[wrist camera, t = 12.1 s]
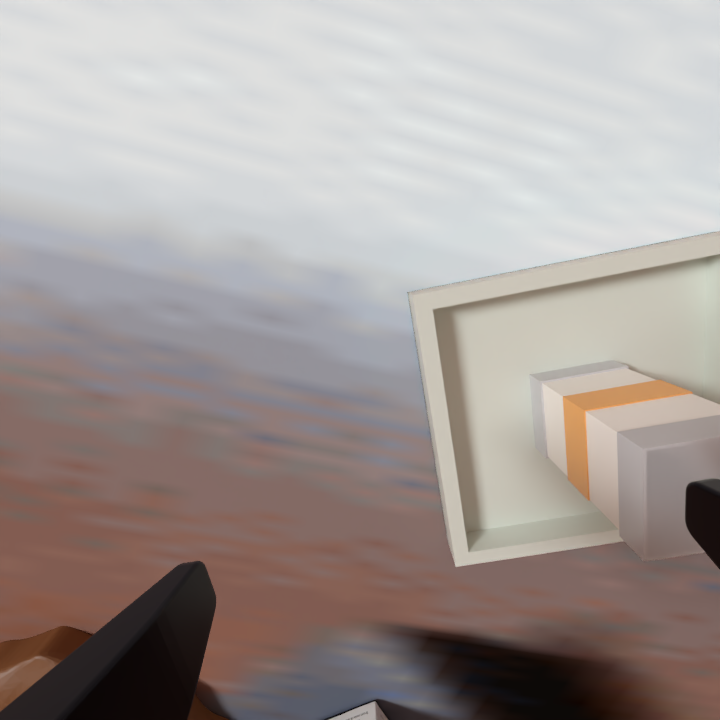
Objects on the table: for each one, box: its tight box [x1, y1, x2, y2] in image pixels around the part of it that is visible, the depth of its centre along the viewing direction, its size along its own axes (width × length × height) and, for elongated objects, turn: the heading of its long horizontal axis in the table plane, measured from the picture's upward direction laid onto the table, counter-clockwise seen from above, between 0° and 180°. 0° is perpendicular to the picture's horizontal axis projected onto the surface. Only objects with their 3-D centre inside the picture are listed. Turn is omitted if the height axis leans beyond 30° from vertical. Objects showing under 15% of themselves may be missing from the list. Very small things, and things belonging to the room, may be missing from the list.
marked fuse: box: [529, 360, 720, 561], centre depth 16 cm, size 4×4×8 cm
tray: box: [408, 231, 720, 567], centre depth 19 cm, size 15×15×2 cm
